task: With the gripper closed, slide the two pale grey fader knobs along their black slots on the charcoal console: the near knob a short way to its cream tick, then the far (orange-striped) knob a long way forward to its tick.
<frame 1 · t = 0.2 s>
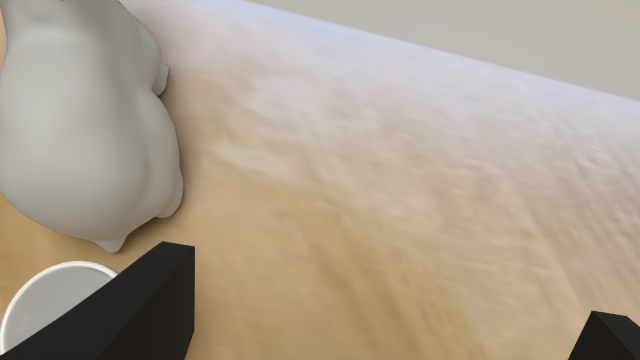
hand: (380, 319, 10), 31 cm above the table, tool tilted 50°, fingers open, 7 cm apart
drinking glass: (156, 340, 40), on the table
rabbit: (127, 138, 45), on the table
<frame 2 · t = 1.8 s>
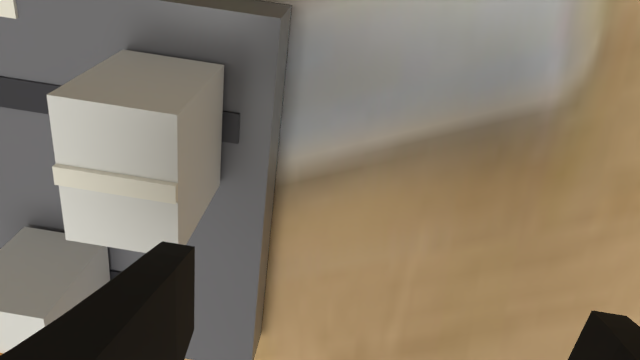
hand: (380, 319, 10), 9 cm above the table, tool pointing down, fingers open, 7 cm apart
console: (53, 162, 20), on the table
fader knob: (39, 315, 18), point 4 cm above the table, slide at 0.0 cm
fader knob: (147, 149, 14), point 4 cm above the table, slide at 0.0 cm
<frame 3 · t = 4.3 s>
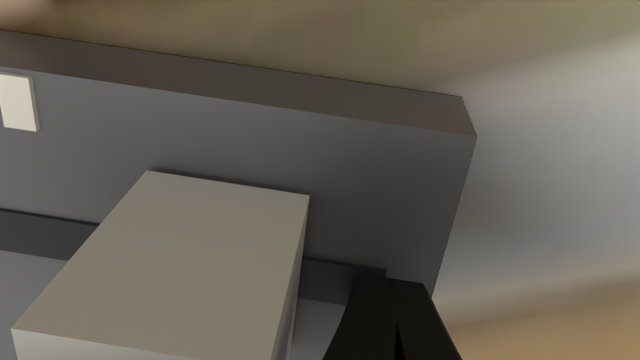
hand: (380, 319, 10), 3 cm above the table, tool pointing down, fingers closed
console: (83, 296, 14), on the table
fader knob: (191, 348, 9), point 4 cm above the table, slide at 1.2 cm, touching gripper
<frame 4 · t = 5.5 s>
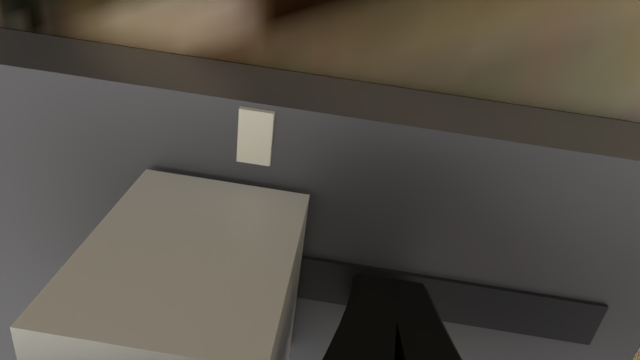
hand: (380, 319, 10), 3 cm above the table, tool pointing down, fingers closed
console: (238, 321, 14), on the table
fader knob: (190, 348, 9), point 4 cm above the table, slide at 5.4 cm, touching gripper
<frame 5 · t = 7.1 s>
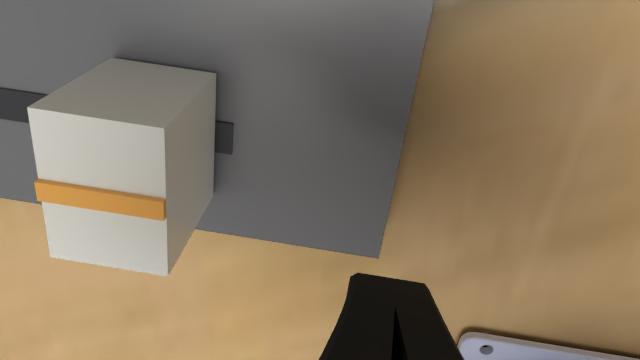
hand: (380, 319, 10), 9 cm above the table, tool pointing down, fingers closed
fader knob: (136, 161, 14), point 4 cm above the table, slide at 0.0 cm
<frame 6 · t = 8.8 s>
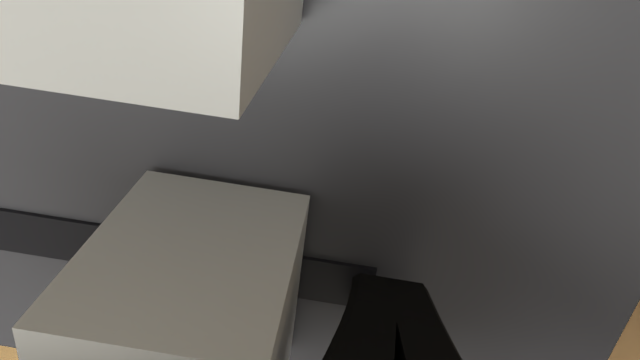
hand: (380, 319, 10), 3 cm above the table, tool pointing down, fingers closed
console: (232, 63, 11), on the table
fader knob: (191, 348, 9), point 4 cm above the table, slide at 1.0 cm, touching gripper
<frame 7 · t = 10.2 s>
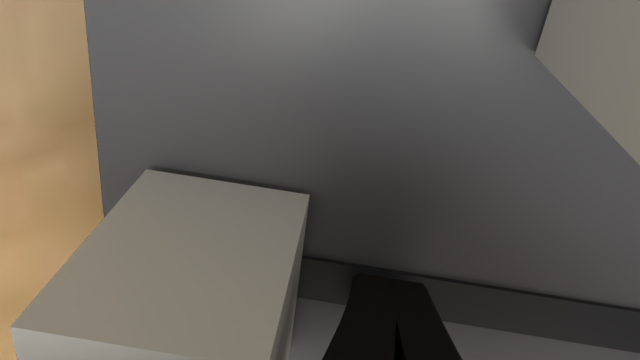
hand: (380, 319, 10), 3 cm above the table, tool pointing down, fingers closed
console: (554, 110, 11), on the table
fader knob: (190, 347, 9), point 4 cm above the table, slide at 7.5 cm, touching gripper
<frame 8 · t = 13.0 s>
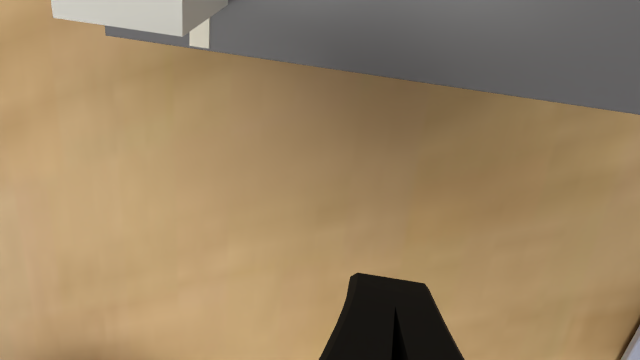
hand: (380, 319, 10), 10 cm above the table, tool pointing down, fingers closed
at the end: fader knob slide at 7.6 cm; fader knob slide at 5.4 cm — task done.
